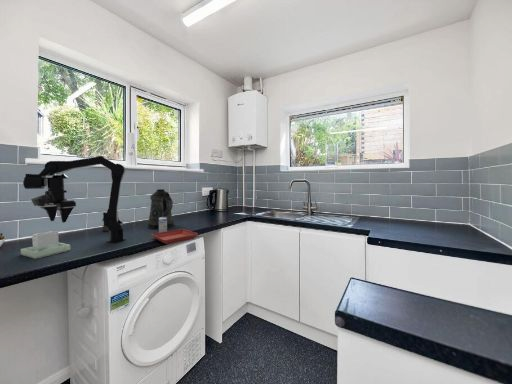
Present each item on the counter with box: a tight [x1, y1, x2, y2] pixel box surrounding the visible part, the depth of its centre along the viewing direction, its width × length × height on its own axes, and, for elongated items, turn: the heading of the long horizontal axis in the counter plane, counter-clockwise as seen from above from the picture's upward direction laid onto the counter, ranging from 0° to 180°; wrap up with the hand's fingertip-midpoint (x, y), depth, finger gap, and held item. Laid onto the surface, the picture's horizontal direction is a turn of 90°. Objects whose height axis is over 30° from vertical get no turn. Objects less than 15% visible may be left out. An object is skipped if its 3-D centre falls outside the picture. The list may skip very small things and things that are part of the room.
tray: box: [20, 242, 71, 260], centre depth 97 cm, size 12×12×2 cm
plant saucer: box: [151, 228, 199, 245], centre depth 119 cm, size 18×18×3 cm
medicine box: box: [158, 217, 168, 233], centre depth 134 cm, size 8×4×9 cm, turn 23°
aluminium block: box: [31, 230, 60, 252], centre depth 97 cm, size 4×7×8 cm, turn 156°
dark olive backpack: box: [146, 188, 175, 230], centre depth 151 cm, size 16×19×25 cm
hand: (58, 221), depth 105 cm, fingers open, 9 cm apart
